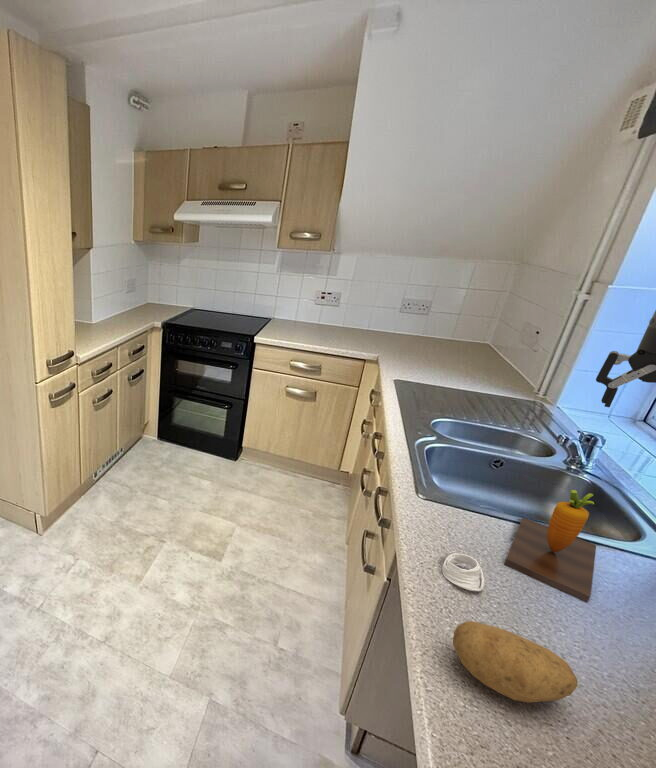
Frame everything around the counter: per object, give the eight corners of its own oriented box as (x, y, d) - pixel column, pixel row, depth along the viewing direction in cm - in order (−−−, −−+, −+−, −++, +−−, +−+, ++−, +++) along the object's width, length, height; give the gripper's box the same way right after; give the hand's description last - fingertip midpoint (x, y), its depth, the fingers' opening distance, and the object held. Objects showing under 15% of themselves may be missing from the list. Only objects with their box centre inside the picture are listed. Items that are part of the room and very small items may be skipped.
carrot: (565, 548, 86) (594, 488, 81) (573, 564, 82) (604, 501, 77) (534, 540, 88) (560, 480, 83) (540, 554, 84) (568, 493, 79)
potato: (577, 740, 55) (602, 700, 52) (449, 689, 60) (465, 650, 58) (549, 674, 63) (569, 636, 60) (439, 634, 69) (453, 598, 66)
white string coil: (485, 603, 76) (497, 586, 73) (443, 587, 78) (453, 569, 76) (476, 571, 82) (487, 554, 80) (437, 557, 85) (447, 540, 82)
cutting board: (520, 522, 96) (522, 516, 96) (593, 550, 88) (596, 545, 87) (503, 564, 84) (506, 558, 83) (587, 602, 75) (590, 596, 75)
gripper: (748, 332, 68) (700, 421, 74) (622, 318, 78) (588, 397, 84) (755, 339, 64) (702, 433, 69) (620, 323, 74) (584, 406, 79)
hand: (640, 413), depth 77 cm, fingers open, 8 cm apart
